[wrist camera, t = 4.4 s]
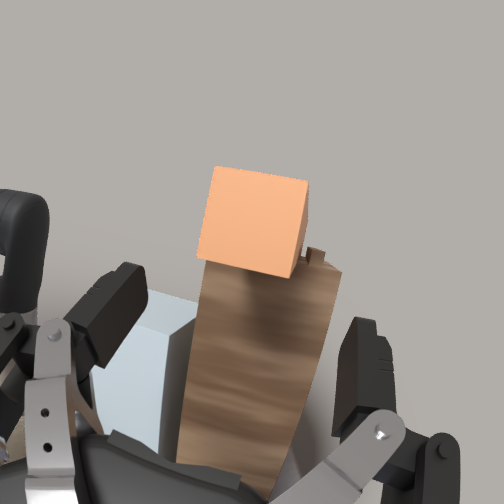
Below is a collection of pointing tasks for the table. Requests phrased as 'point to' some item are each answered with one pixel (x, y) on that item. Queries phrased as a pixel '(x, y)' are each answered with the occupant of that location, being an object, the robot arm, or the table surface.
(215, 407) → the tall post
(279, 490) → the table surface
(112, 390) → the short post
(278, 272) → the beam
